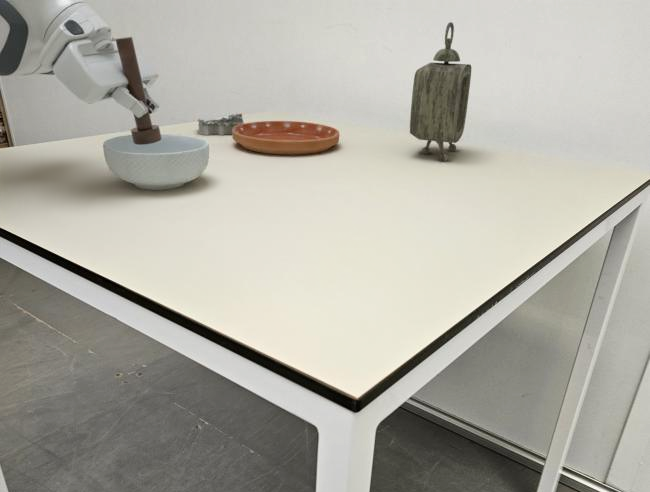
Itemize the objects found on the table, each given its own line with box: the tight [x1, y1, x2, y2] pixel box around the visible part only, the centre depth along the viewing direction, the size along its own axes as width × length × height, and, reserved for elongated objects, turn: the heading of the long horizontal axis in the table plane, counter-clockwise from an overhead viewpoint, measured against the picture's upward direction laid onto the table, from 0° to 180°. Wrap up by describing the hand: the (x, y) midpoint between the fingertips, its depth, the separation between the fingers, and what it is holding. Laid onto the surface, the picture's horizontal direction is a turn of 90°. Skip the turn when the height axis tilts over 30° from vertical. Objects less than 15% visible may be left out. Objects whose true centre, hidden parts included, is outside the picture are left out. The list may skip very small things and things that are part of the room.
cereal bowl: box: [102, 133, 210, 191], centre depth 99 cm, size 17×17×7 cm
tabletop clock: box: [409, 21, 472, 162], centre depth 120 cm, size 14×9×25 cm, turn 160°
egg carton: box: [197, 113, 245, 136], centre depth 141 cm, size 11×8×4 cm
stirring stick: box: [115, 36, 162, 145], centre depth 93 cm, size 4×4×15 cm
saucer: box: [231, 120, 340, 156], centre depth 130 cm, size 23×23×4 cm
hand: (149, 112), depth 94 cm, fingers closed on stirring stick, 2 cm apart
